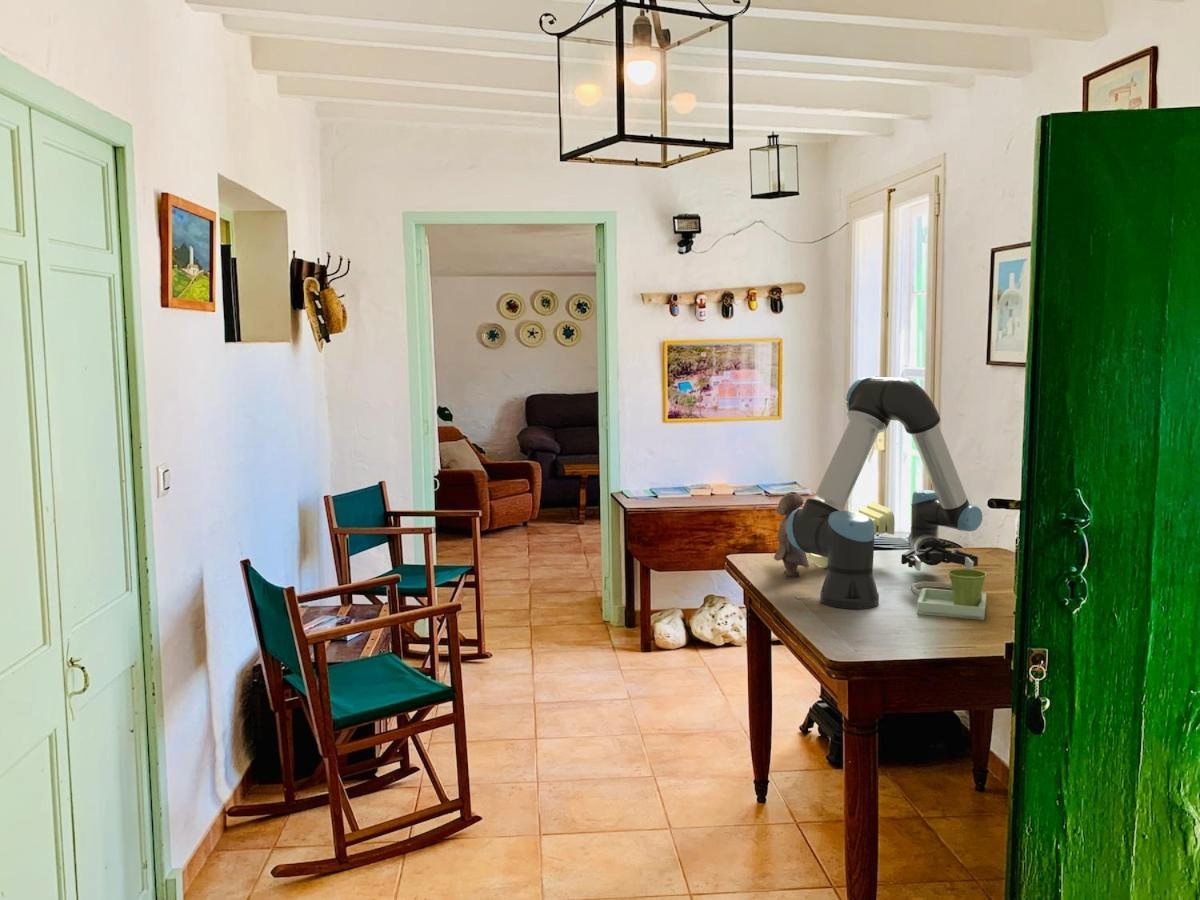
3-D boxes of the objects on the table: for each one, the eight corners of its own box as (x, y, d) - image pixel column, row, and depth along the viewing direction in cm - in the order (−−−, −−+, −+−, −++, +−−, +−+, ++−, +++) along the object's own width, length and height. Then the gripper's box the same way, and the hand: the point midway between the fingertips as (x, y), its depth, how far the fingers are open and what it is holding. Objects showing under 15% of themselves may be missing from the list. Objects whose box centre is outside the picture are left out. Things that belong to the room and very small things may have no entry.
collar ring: (945, 600, 275) (945, 596, 275) (901, 590, 285) (901, 586, 285) (973, 592, 283) (973, 588, 283) (930, 583, 294) (930, 579, 294)
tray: (984, 620, 256) (984, 608, 256) (917, 613, 262) (917, 602, 262) (985, 604, 271) (986, 593, 271) (922, 598, 277) (922, 587, 277)
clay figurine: (773, 570, 310) (775, 488, 307) (807, 572, 308) (809, 489, 305) (773, 581, 297) (775, 495, 294) (809, 582, 295) (810, 495, 293)
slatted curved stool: (798, 571, 309) (799, 513, 307) (780, 560, 324) (781, 504, 322) (893, 568, 313) (894, 510, 311) (871, 557, 329) (872, 501, 327)
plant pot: (962, 611, 261) (963, 578, 260) (939, 602, 270) (940, 570, 269) (993, 608, 264) (994, 575, 263) (969, 599, 273) (970, 567, 272)
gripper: (974, 564, 295) (993, 581, 274) (884, 561, 298) (896, 579, 277) (975, 538, 294) (994, 553, 273) (885, 536, 297) (897, 551, 276)
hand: (945, 566), depth 275 cm, fingers open, 13 cm apart
